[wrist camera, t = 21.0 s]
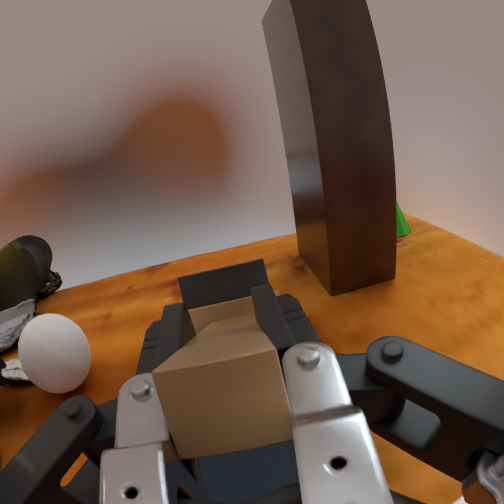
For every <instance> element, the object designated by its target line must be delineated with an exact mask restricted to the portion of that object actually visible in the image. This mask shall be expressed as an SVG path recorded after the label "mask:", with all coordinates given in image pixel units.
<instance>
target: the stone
mask: <svg viewBox="0 0 504 504" xmlns="http://www.w3.org/2000/svg"><path fill="white" fill-rule="evenodd" d="M36 307H37V306H36V303H35V299H29V300H27V301H25V302H24V301H23V302H21V303H20V304H18V305H17V306H16V307H12V308H10V309H7V310H3V311H2V312H0V348H2V350H1V351H4V350H6V349H8V348H9V347H11V346H12V345H13V343H14V342H15V341H16V340H17V338H19V337H20V335H21V332H22V330H23V329H24V327H25V326H26V325H27V323H28V322H29V321H31V320H32V319H34V318H35V317H37V316H36V309H37V308H36ZM20 331H21V332H20Z"/></svg>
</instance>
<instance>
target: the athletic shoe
mask: <svg viewBox="0 0 504 504" xmlns="http://www.w3.org/2000/svg"><path fill="white" fill-rule="evenodd" d="M51 262H52V251H51V248H50V246H49V244H48V243H47V242H46V241H45V240H44V239H42V238H40V237H36V236H33V235H27V236H22V237H19V238H17V239H15V240H14V241H12V242H10V243H8V244H7V245H5V246H4V247H3V248H2V249H1V250H0V312H2V311H3V310H7V309H10V308H12V307H16V306H17V305H18V304H20V303H21V302H23V301H24V302H25V301H27V300H29V299H33V298H34V297H35V296H36V295H37V294H38V293H39V292H40V290H41V289H42V287H43V285H44V283H45V282H46V280H47V278H48V276H49V274H50V267H51Z"/></svg>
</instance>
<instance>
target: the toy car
mask: <svg viewBox="0 0 504 504" xmlns="http://www.w3.org/2000/svg"><path fill="white" fill-rule="evenodd" d="M51 283H52V284H51ZM61 284H62V280H61V277H60V275H59V274H58V273H57V272H56V273H55V272H52V271H51V270H50V274H49V276H48V278H47V280H46V282H45V283H44V285H43V287H42V289H41V290H40V292H39V293H38V294H37V295H36V297H39V298H41V297H44V296H47V295H49V294H51V293H53V292H55V291H56V290H57V289H59V288H60V286H61Z"/></svg>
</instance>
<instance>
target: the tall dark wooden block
mask: <svg viewBox="0 0 504 504" xmlns="http://www.w3.org/2000/svg"><path fill="white" fill-rule="evenodd" d="M262 25H263V30H264V34H265V39H266V44H267V49H268V54H269V59H270V64H271V69H272V75H273V80H274V86H275V91H276V97H277V103H278V109H279V114H280V120H281V127H282V133H283V139H284V145H285V152H286V159H287V166H288V172H289V179H290V187H291V193H292V201H293V209H294V217H295V224H296V233H297V241H298V250H299V254H300V256H301V257H302V258H303V260H304V261H305V262H306V264H307V265H308V266H309V268H310V269H311V270H312V271H313V273H314V274H315V275H316V277H317V278H318V279H319V281H320V282H321V283H322V285H323V286H324V287H325V289H326V290H327V291H328V293H329V294H330V295H331V296H333V295H337V294H341V293H345V292H348V291H352V290H356V289H359V288H363V287H366V286H370V285H374V284H377V283H380V282H384V281H387V280H391V279H394V278H395V270H396V240H397V210H396V181H395V164H394V151H393V140H392V130H391V122H390V114H389V106H388V100H387V93H386V87H385V81H384V75H383V70H382V65H381V60H380V55H379V50H378V46H377V42H376V37H375V33H374V29H373V25H372V21H371V17H370V14H369V10H368V6H367V3H366V0H273V1H272V2H271V4H270V6H269V8H268V10H267V11H266V13H265V15H264V17H263V19H262Z"/></svg>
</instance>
